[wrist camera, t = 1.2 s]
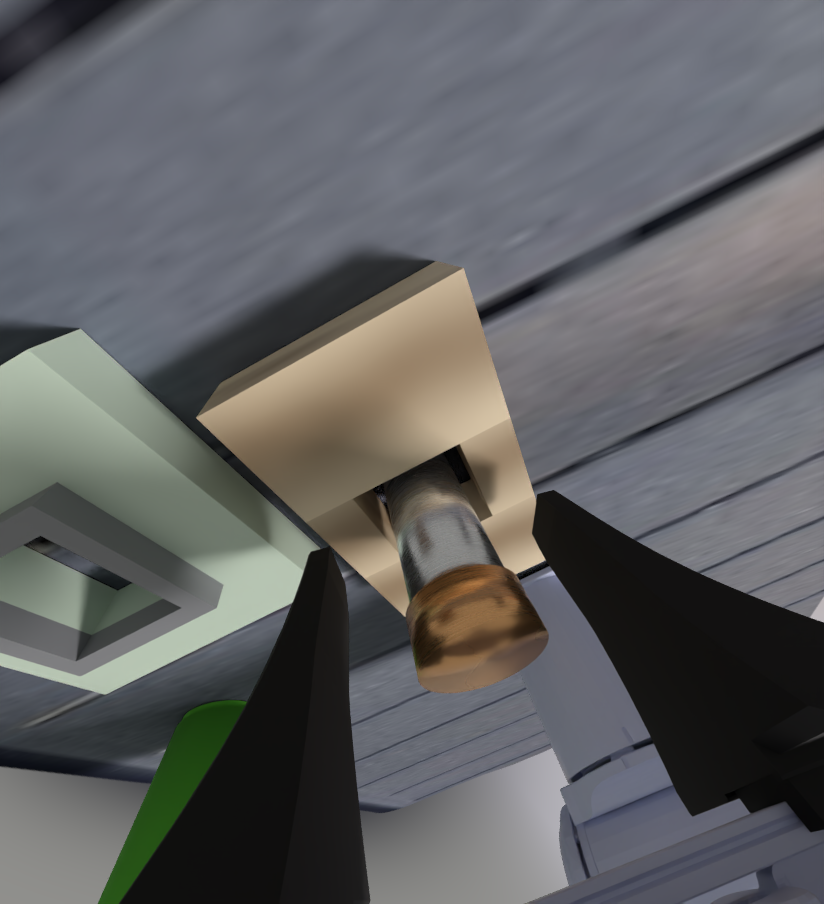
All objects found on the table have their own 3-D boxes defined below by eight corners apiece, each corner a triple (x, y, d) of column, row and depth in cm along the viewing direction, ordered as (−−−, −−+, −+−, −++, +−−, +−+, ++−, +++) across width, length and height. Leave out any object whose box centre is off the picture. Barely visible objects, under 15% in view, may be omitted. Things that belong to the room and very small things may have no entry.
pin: (460, 476, 15) (558, 655, 9) (397, 509, 16) (447, 704, 9) (434, 423, 13) (534, 601, 7) (361, 460, 14) (393, 666, 7)
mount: (528, 520, 18) (553, 556, 16) (402, 581, 19) (411, 623, 17) (436, 261, 10) (463, 267, 8) (220, 383, 11) (195, 418, 9)
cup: (236, 747, 27) (191, 1008, 18) (114, 736, 22) (-36, 1093, 13) (315, 698, 25) (309, 960, 16) (201, 673, 20) (98, 1037, 11)
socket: (323, 551, 16) (323, 608, 14) (126, 650, 17) (92, 720, 15) (80, 328, 9) (-9, 363, 7) (-232, 517, 10) (-410, 607, 8)
